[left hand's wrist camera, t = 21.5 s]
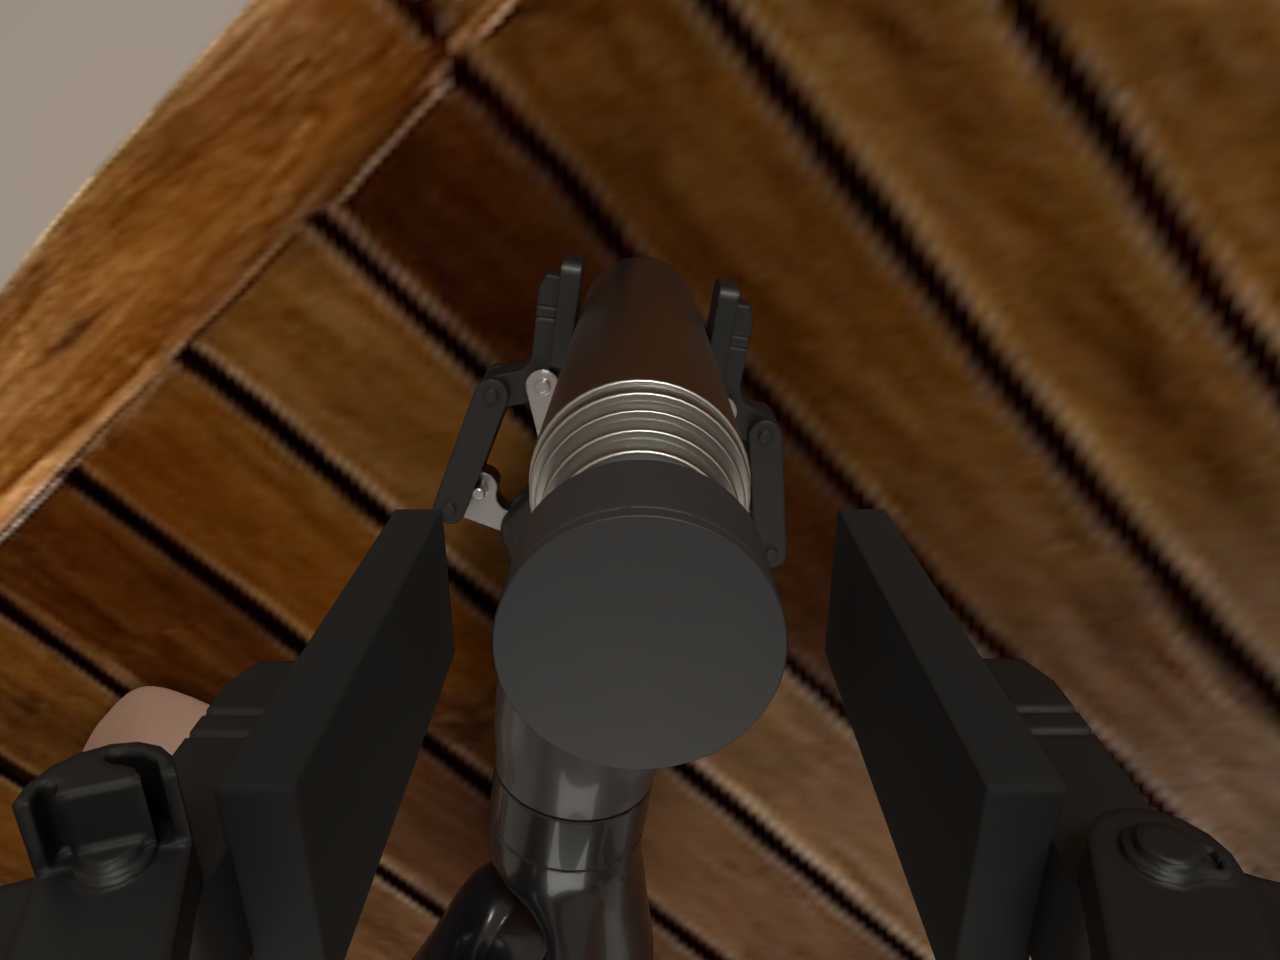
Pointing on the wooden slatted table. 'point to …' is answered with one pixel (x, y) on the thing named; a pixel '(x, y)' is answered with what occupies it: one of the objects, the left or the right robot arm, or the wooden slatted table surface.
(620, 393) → the bottle
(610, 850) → the right robot arm
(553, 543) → the cap
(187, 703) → the anatomical model
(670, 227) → the wooden slatted table surface
